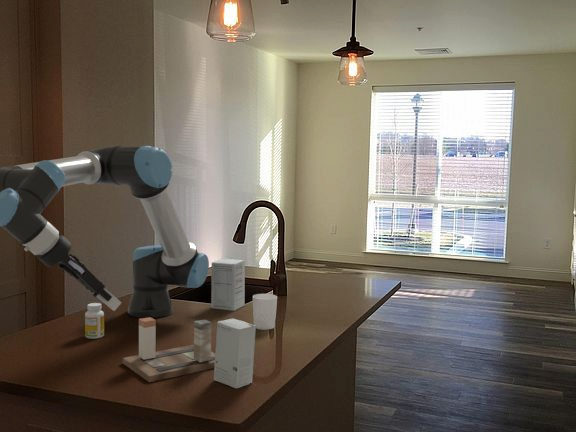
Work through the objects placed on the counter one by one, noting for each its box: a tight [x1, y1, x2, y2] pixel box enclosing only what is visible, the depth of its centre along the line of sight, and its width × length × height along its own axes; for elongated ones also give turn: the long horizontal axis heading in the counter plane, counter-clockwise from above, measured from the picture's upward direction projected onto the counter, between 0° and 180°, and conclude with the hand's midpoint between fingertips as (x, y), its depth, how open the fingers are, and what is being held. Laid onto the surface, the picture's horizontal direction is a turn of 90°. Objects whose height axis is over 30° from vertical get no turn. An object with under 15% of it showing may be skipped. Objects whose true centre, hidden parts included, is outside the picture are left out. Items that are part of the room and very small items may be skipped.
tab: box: [138, 317, 157, 360], centre depth 162 cm, size 3×3×10 cm
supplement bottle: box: [84, 302, 105, 340], centre depth 185 cm, size 5×5×10 cm
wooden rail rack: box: [122, 319, 215, 383], centre depth 163 cm, size 22×16×12 cm
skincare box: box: [213, 317, 256, 389], centre depth 151 cm, size 8×6×15 cm
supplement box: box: [210, 258, 246, 312], centre depth 224 cm, size 10×9×17 cm
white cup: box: [252, 293, 278, 331], centre depth 200 cm, size 8×8×10 cm
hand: (116, 306), depth 156 cm, fingers closed
